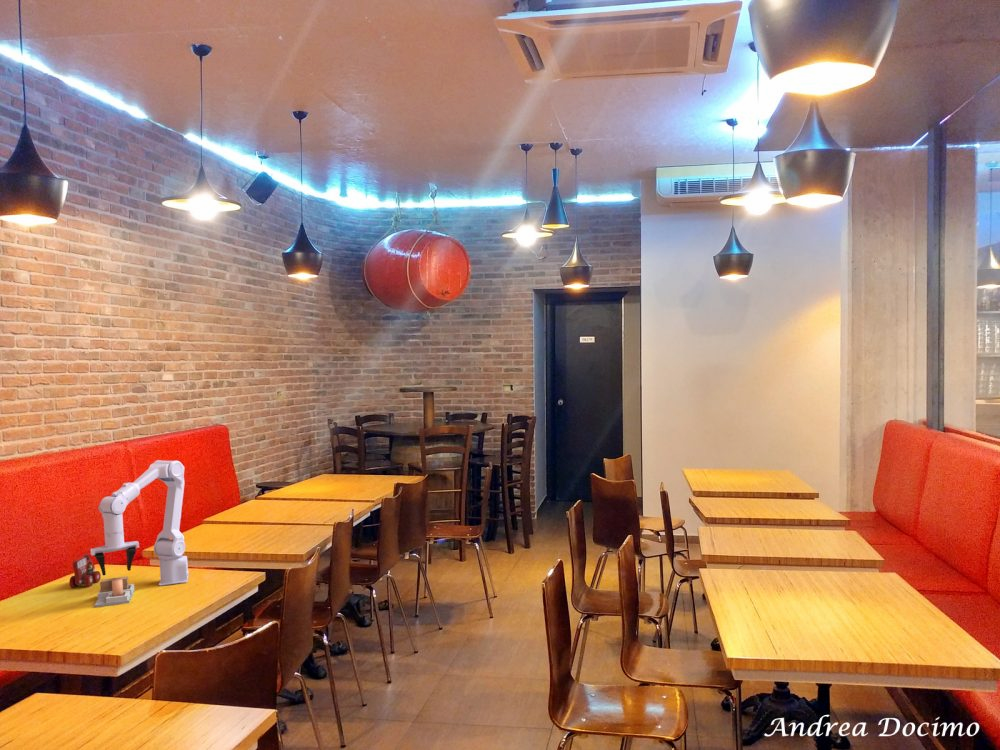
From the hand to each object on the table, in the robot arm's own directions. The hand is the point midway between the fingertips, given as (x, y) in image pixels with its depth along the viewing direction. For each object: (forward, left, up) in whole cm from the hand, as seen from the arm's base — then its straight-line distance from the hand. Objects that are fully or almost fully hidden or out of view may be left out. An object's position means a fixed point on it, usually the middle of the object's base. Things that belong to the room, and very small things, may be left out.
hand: (116, 572), depth 262 cm
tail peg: (0, 0, -9) cm, 9 cm away
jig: (+2, -3, -10) cm, 11 cm away
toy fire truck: (+15, -29, -10) cm, 34 cm away
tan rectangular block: (+2, -7, -9) cm, 12 cm away
